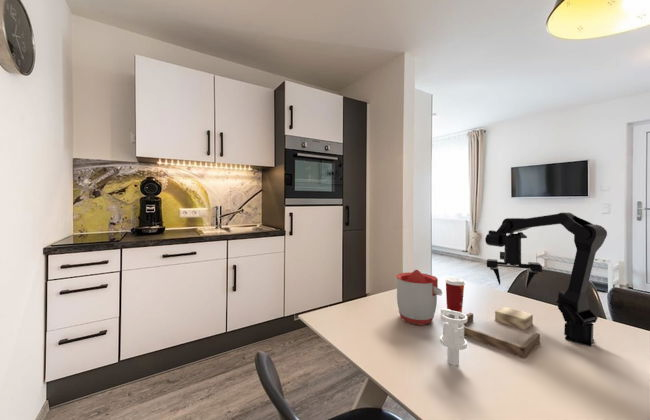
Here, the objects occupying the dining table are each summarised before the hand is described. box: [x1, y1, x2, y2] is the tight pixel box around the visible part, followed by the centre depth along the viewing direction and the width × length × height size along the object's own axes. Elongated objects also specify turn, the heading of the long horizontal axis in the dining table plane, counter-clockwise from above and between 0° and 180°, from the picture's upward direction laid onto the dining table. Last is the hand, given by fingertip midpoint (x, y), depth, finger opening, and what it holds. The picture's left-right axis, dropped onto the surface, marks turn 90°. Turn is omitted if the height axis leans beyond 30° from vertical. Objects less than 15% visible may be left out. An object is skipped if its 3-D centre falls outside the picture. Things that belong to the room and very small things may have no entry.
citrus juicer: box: [396, 269, 443, 326], centre depth 108 cm, size 16×17×20 cm
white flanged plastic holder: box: [439, 307, 468, 366], centre depth 79 cm, size 7×7×15 cm
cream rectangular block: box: [494, 306, 534, 330], centre depth 107 cm, size 10×8×4 cm
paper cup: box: [444, 277, 466, 313], centre depth 116 cm, size 8×8×14 cm
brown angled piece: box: [459, 312, 541, 360], centre depth 95 cm, size 22×15×3 cm
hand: (512, 285), depth 113 cm, fingers open, 9 cm apart
